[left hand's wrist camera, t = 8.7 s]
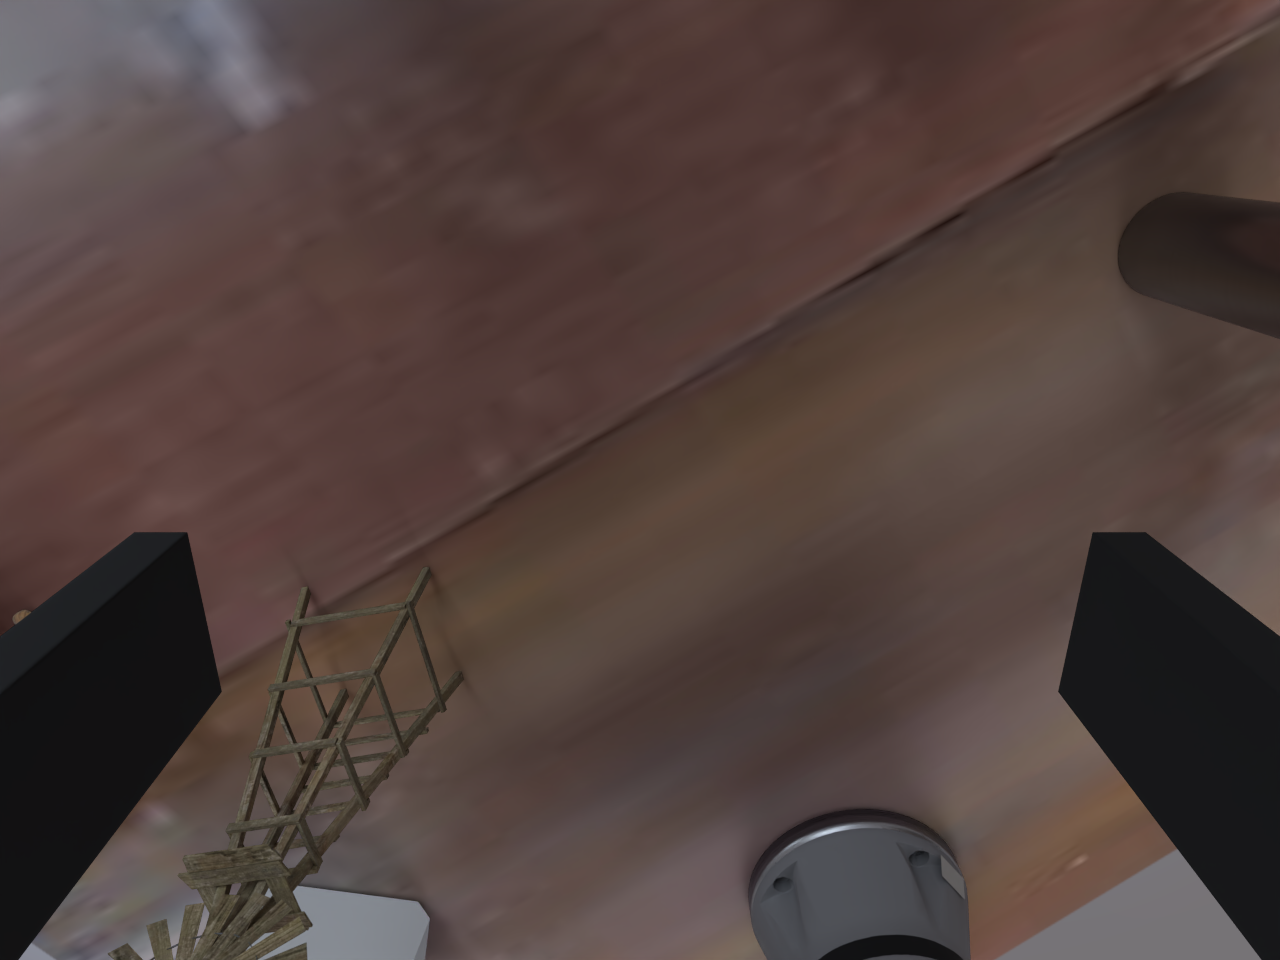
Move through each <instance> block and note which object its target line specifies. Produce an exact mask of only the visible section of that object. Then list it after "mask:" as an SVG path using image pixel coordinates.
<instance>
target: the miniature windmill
mask: <svg viewBox="0 0 1280 960" xmlns="http://www.w3.org/2000/svg"><path fill="white" fill-rule="evenodd" d="M430 577H431V571H430V568H429V567H423V569H422V571H421V572H420V574H419V576H418V578H417V580H416V582H415V584H414V586H413V588H412V590H411V592H410V593H409V595H408V597H407V599H406V601H405V602H403V603H397V604H390V605H384V606H378V607H372V608H366V609H359V610H353V611H347V612H341V613H334V614H328V615H322V616H316V617H309V618H304V617H305V614H306V610H307V606H308V603H309V599H310V595H311V593H310V591H309V588H308V586H307V587H303V588H301V591H300V595H299V598H298V602H297V605H296V609H295V613H294V616H293V620H292V622H291V620H287V621H286V622H285V624H286V626H287V629H288V632H289V634H288V637H287V641H286V644H285V648H284V652H283V655H282V659H281V662H280V666H279V669H278V673H277V676H276V680H275V684H271V685H270V686H269V688H268V691H269V695H270V697H271V698H270V701H269V705H268V708H267V712H266V716H265V719H264V723H263V726H262V730H261V733H260V737H259V740H258V744H257V748H256V749H255V750H254V751H253V752H251V753H250V755H249V759H250V761H251V764H252V765H251V769H250V772H249V776H248V779H247V783H246V787H245V790H244V794H243V797H242V801H241V804H240V808H239V811H238V815H237V819H236V822H235V823H230V824H229V825H228V827H227V829H226V833H227V834H228V835H229V837H230V843H229V847H228V850H221V851H214V852H207V853H200V854H193V855H186V856H184V857H183V859H182V860H183V862H184V864H185V866H186V869H187V873H180V874H178V877H179V878H180V879H181V880H183V881H184V882H185V883H186V884H187V885H188V886H189V887H190V888H191V889H197V890H198V892H199V893H200V895H201V897H202V899H203V901H204V903H200V904H193V905H187V906H186V907H185V912H184V917H183V923H182V928H181V933H180V939H179V943H178V944H176V945H174V946H172V947H171V943H170V937H169V931H168V926H167V920H166V919H164V920H162V921H159V922H156V923H153V924H150V925H147V930H148V934H149V938H150V941H151V945H152V949H153V953H154V957H153V958H152V959H151V960H153V959H155V960H173V955H172V948H174V947H176V946H178V949H177V955H176V960H258V959H260V958H261V957H263V956H265V955H266V954H268V953H270V952H271V951H273V950H275V949H277V948H278V947H280V946H282V945H283V944H285V943H287V942H288V941H290V940H292V939H293V938H295V937H297V936H299V935H300V934H302V933H304V932H305V931H306V930H309V927H312V926H313V924H312V922H311V921H310V919H309V918H308V916H307V915H306V913H305V911H301V909H300V907H299V905H298V902H297V900H296V898H295V896H294V893H293V891H294V890H295V889H296V887H297V886H298V885H299V884H300V882H301V881H302V880H303V879H304V877H305V876H306V875H309V874H315V873H318V870H319V868H320V865H321V864H322V862H323V860H322V858H321V856H322V855H323V854H324V852H325V851H326V850H327V849H328V847H329V846H330V845H331V844H332V842H335V841H336V840H337V839H338V838H339V837H340V835H339V834H340V833H341V831H342V830H343V829H344V828H345V826H346V825H347V824H348V823H349V821H350V820H351V819H352V818H353V816H354V815H355V814H356V813H357V811H358V810H359V809H360V808H361V810H362V811H366V809H367V807H368V805H369V803H370V799H369V796H370V795H371V794H372V793H373V791H374V790H375V789H376V788H377V787H378V785H379V784H380V783H381V782H382V780H387V779H388V777H389V772H390V770H391V769H392V768H393V767H394V765H395V764H396V763H397V762H398V760H399V759H400V758H404V757H405V756H406V755H407V754H408V753H409V749H408V748H409V747H410V745H411V744H412V743H413V742H414V740H415V739H416V738H417V737H418V735H421V734H427V733H428V731H429V729H428V727H427V728H425V727H426V726H427V724H428V723H429V722H430V721H431V719H432V718H433V717H434V716H435V714H436V713H437V712H440V711H441V712H445V711H446V710H447V709H446V706H445V702H446V701H447V699H448V698H449V697H450V696H451V694H452V693H453V692H454V691H455V689H456V688H457V687H458V686H459V684H460V683H461V682H462V681H463V680H464V679H463V675H462V672H461V671H459V672H455V674H454V675H453V676H452V677H451V678H450V680H449V681H448V682H447V683H446V684H445V686H444V687H443V688H442V689H441V691H440V688H439V684H438V681H437V678H436V675H435V672H434V669H433V666H432V663H431V660H430V657H429V654H428V650H427V647H426V644H425V641H424V638H423V635H422V632H421V629H420V626H419V623H418V619H417V616H416V613H415V610H414V608H415V606H416V604H417V602H418V600H419V598H420V596H421V594H422V592H423V590H424V588H425V586H426V584H427V583H428V581H429V579H430ZM397 610H401V611H400V612H399V614H398V616H397V618H396V620H395V622H394V624H393V626H392V628H391V630H390V632H389V633H388V635H387V637H386V639H385V641H384V643H383V645H382V647H381V649H380V651H379V652H378V654H377V656H376V658H375V660H374V662H373V664H372V666H371V668H370V669H367V670H361V671H354V672H348V673H341V674H335V675H328V676H322V677H316V678H313V677H312V674H311V672H310V669H309V666H308V664H307V661H306V659H305V656H304V654H303V651H302V648H301V646H300V643H299V641H298V639H299V636H300V632H301V628H302V626H303V625H309V624H316V623H322V622H328V621H334V620H341V619H347V618H353V617H359V616H366V615H372V614H378V613H384V612H391V611H397ZM409 617H410V619H411V622H412V625H413V628H414V631H415V634H416V637H417V640H418V643H419V646H420V649H421V652H422V655H423V658H424V662H425V665H426V668H427V671H428V674H429V677H430V680H431V683H432V686H433V689H434V692H435V695H436V697H435V698H434V699H433V700H432V702H431V703H430V704H429V705H428V706H427V708H425V709H418V710H412V711H405V712H398V713H393V712H392V710H391V707H390V704H389V701H388V698H387V695H386V692H385V690H384V687H383V684H382V681H381V678H380V673H381V671H382V669H383V667H384V665H385V663H386V661H387V660H388V658H389V656H390V654H391V652H392V650H393V648H394V646H395V644H396V642H397V640H398V638H399V636H400V634H401V633H402V631H403V629H404V627H405V625H406V623H407V621H408V619H409ZM295 650H296V652H297V655H298V657H299V660H300V662H301V665H302V667H303V670H304V672H305V675H306V678H307V679H303V680H296V681H290V682H287V680H288V676H289V672H290V669H291V665H292V661H293V658H294V654H295ZM360 678H365V679H364V681H363V683H362V685H361V687H360V689H359V691H358V692H357V694H356V696H355V698H354V700H353V702H352V704H351V706H350V708H349V710H348V712H347V713H346V715H345V717H344V719H343V721H339V722H336V721H337V719H338V717H339V715H340V713H341V711H342V709H343V707H344V705H345V703H346V701H347V699H348V697H349V696H348V693H347V690H346V689H343V690H340V692H339V694H338V696H337V698H336V699H335V701H334V703H333V705H332V707H331V709H330V711H329V713H328V715H327V713H326V710H325V708H324V705H323V703H322V700H321V697H320V695H319V692H318V690H317V687H316V685H321V684H327V683H334V682H340V681H347V680H353V679H360ZM374 685H375V687H376V689H377V692H378V695H379V698H380V701H381V704H382V706H383V709H384V712H385V715H379V716H372V717H365V718H359V719H357V717H358V715H359V713H360V711H361V710H362V708H363V706H364V704H365V702H366V700H367V698H368V696H369V694H370V692H371V690H372V688H373V686H374ZM308 686H310V688H311V690H312V693H313V695H314V698H315V701H316V703H317V706H318V708H319V711H320V713H321V716H322V718H323V721H324V723H323V725H322V727H321V729H320V731H319V733H318V735H317V737H316V739H315V741H309V742H302V743H297V742H296V740H295V737H294V735H293V733H292V730H291V728H290V725H289V723H288V720H287V718H286V716H285V713H284V711H283V708H282V706H281V702H282V698H283V694H284V691H285V690H289V689H295V688H302V687H308ZM416 715H420V716H419V717H418V719H417V720H416V721H415V722H414V723H413V725H412V726H411V727H410V728H409V730H407V731H400V732H399V729H398V727H397V724H396V721H395V719H397V718H403V717H410V716H416ZM277 716H278V717H279V719H280V722H281V724H282V726H283V729H284V731H285V734H286V736H287V738H288V741H289V743H290V744H289V745H282V746H275V747H269V746H270V742H271V739H272V735H273V731H274V728H275V724H276V720H277ZM383 720H388V723H389V726H390V729H391V732H392V733H387V734H380V735H374V736H367V737H360V738H354V739H347V740H346V738H347V736H348V735H349V733H350V731H351V729H352V727H353V725H357V724H364V723H370V722H377V721H383ZM337 727H339V729H338V731H337V732H336V734H335V736H334V738H329V736H330V734H331V732H332V729H333V728H337ZM401 737H402V738H401ZM328 738H329V739H328ZM388 739H394V740H395V743H396V745H395V747H394V748H393V749H392V750H391V751H390V752H383V753H377V754H371V755H364V756H358V757H352V758H350V755H349V752H348V750H347V747H346V746H348V745H355V744H361V743H368V742H375V741H381V740H388ZM323 749H328V750H327V752H326V753H325V755H324V757H323V759H322V761H321V762H320V763H316V762H317V760H318V758H319V756H320V754H321V752H322V750H323ZM308 750H310V751H309V753H308V755H307V757H306V759H305V761H304V759H303V757H302V754H301V752H302V751H308ZM288 753H294V755H295V758H296V760H297V763H298V765H299V767H300V771H299V773H298V775H297V776H296V778H295V780H294V782H293V784H292V786H291V788H290V790H289V792H288V794H287V796H286V798H285V800H284V802H283V804H282V806H281V808H279V805H278V803H277V801H276V798H275V796H274V794H273V792H272V789H271V787H270V785H269V782H268V780H267V778H266V775H265V773H264V771H263V768H264V764H265V761H266V757H268V756H275V755H282V754H288ZM339 753H340V756H341V758H342V759H339V760H336V758H337V756H338V754H339ZM381 759H384V760H383V761H382V762H381V764H380V765H379V766H378V767H377V769H376V770H375V771H374V772H373V773H372V775H369V776H363V777H358V776H357V773H356V771H355V768H354V765H353V764H355V763H362V762H368V761H374V760H381ZM343 765H344V766H345V769H346V771H347V774H348V776H349V779H344V780H338V781H331V782H325V783H324V781H325V779H326V777H327V775H328V773H329V771H330V769H331V767H336V766H343ZM312 770H317V771H316V772H315V774H314V776H313V778H312V780H311V782H310V784H309V785H306V786H305V784H306V782H307V780H308V778H309V776H310V774H311V772H312ZM259 783H260V784H261V786H262V789H263V791H264V793H265V796H266V798H267V800H268V802H269V805H270V807H271V809H272V811H273V814H274V816H275V817H272V818H265V819H258V820H251V821H249V819H250V816H251V812H252V808H253V805H254V801H255V797H256V794H257V790H258V786H259ZM363 783H364V784H363ZM361 784H363V786H361ZM350 785H352V787H353V789H354V792H355V795H354V797H353V798H352V799H351V800H350V801H348V802H342V803H336V804H330V805H324V806H318V807H311V806H312V804H313V802H314V800H315V798H316V796H317V794H318V792H319V790H325V789H331V788H338V787H344V786H350ZM301 793H304V795H303V797H302V799H301V801H300V803H299V805H298V807H297V809H296V810H293V808H294V806H295V804H296V802H297V800H298V798H299V796H300V794H301ZM292 810H293V811H292ZM340 810H342V811H341V812H340V814H339V815H338V816H337V817H336V819H335V820H334V821H333V822H332V823H331V825H330V826H329V827H328V828H327V830H326V831H325V832H324V833H323V834H322V836H315V837H312V834H311V832H310V830H309V827H308V825H307V823H306V820H305V817H306V816H309V815H315V814H321V813H327V812H333V811H340ZM287 825H288V826H287ZM284 826H287V828H286V830H285V832H284V833H283V835H282V837H281V839H280V841H279V842H277V841H278V839H279V837H280V835H281V832H282V830H283V828H284ZM267 828H270V830H269V832H268V834H267V836H266V838H265V840H264V842H263V844H262V845H256V846H249V847H244V845H243V841H244V838H245V834H246V831H253V830H260V829H267ZM298 831H299V832H300V835H301V837H302V839H296V840H294V838H295V836H296V835H297V833H298ZM305 846H306V849H307V851H308V853H307V854H306V855H305V856H304V858H303V859H302V860H301V861H300V862H299V864H298V865H297V866H296V867H295V868H289V869H288V868H287V867H286V866H285V865H284V864H283V860H284V858H285V856H286V854H287V852H288V850H289V849H292V848H298V847H305ZM234 883H241V887H240V889H239V891H238V893H237V895H229V893H230V889H231V886H232V884H234ZM268 888H269V889H270V891H271V893H272V897H271V898H270V897H267V896H265V894H266V892H267V890H268ZM204 905H206V907H207V909H208V911H209V913H210V914H209V918H208V922H207V925H206V928H205V930H204V932H203V934H202V935H201V936H197V933H198V929H199V925H200V921H201V917H202V913H203V909H204ZM262 907H263V908H262ZM261 908H262V909H261ZM272 932H274V933H273V934H271V935H269V936H268V937H266V938H265V939H263V940H262V941H260V942H259V943H257V944H255V945H254V946H252V944H253V943H254V942H255V941H256V940H258V939H259V938H260V937H261V936H262V935H264V934H265V933H272ZM200 937H201V938H200ZM196 938H200V940H199V942H198V944H197V946H196V948H195V950H194V952H193V949H194V945H195V941H196ZM249 946H251V948H249V949H248V950H246V949H247V948H248V947H249ZM192 953H193V954H192ZM108 955H109V956H110V957H112V958H113V959H114V960H142V958H141V957H140V956H139V955H138V954H137V953H136V952H135V951H134V950H133V949H132V948H131V947H130V946H129V945H128V943H127V944H125V945H123V946H121V947H119V948H117V949H115V950H113V951H112V952H110V953H108ZM265 960H307V942H306V943H303V944H301V945H298V946H296V947H294V948H291V949H289V950H286V951H284V952H282V953H279V954H277V955H274V956H272V957H270V958H267V959H265Z"/></svg>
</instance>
